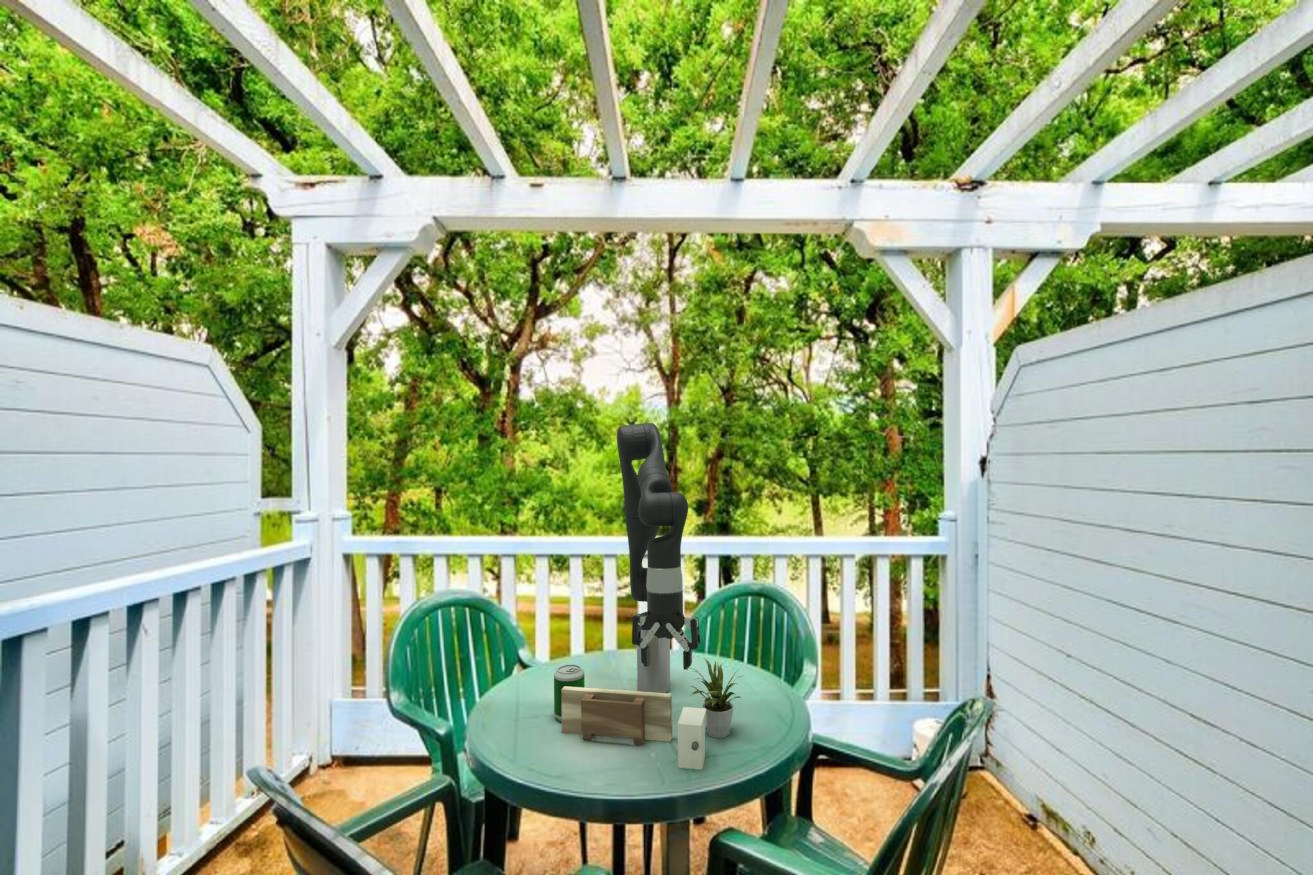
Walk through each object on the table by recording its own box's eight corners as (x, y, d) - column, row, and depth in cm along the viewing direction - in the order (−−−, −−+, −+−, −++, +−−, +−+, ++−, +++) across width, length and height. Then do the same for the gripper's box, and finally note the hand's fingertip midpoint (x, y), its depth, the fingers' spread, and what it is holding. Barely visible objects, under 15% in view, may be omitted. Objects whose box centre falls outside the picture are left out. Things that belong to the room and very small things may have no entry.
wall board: (564, 728, 142) (564, 686, 142) (672, 737, 137) (671, 693, 137) (556, 739, 137) (556, 695, 137) (667, 749, 132) (667, 703, 132)
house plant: (674, 723, 144) (673, 655, 144) (724, 713, 149) (723, 647, 150) (701, 750, 131) (700, 675, 131) (755, 737, 136) (754, 665, 136)
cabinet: (684, 747, 132) (683, 706, 132) (706, 749, 131) (706, 708, 131) (677, 769, 123) (676, 725, 123) (701, 772, 122) (700, 727, 122)
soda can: (579, 725, 144) (578, 675, 144) (549, 722, 145) (549, 673, 146) (588, 711, 151) (588, 664, 151) (560, 709, 153) (560, 662, 153)
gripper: (701, 586, 126) (703, 664, 125) (638, 583, 130) (639, 659, 129) (693, 593, 119) (695, 675, 118) (626, 590, 123) (627, 670, 122)
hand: (666, 667), depth 124 cm, fingers open, 8 cm apart
